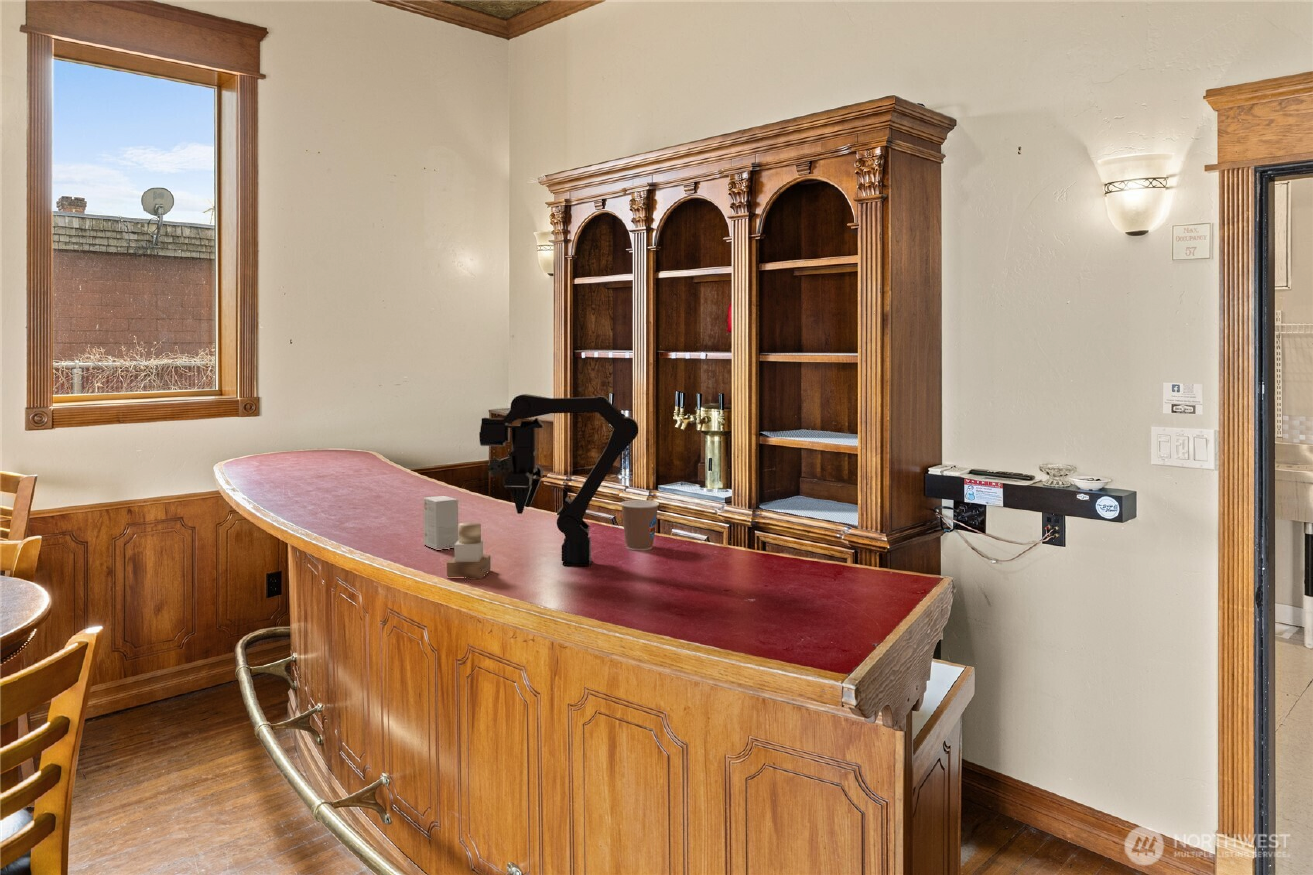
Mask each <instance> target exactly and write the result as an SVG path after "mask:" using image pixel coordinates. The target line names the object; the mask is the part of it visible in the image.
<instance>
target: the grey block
mask: <svg viewBox="0 0 1313 875" xmlns="http://www.w3.org/2000/svg"><path fill="white" fill-rule="evenodd" d="M453 550H454V556H455V562H479V561H480V560H481V559H482V557H483V555H484V539H481V542H479V543H475V544H462V543H459V539H458V541H457V542H456V543H455V545H454V549H453Z"/></svg>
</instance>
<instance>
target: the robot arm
mask: <svg viewBox="0 0 1313 875" xmlns="http://www.w3.org/2000/svg"><path fill="white" fill-rule="evenodd" d="M580 413H581V414H582V413H583V414H585V413H588V414H589V413H591V414H592V413H595V414H596V413H597V414H598V415H600V417H602V418H603V420H605V421H606V422H607V423H608V424H609V425H610V426H611V427H612V428H613V429H612V431H611V435H610V437H609V440H608V442H607V445H606V446H605V448H604V450H603V452H602V454H601V455H600V457H599V458H598V460H597V461H596V463H595V465H594V466H593V468H592V469H591V471H590V473H589V474H588V476H587V478H586V479H585V481H584V483H583V484H582V486H581V487H580V489H579V491H578V492H577V493H576V495H574V496H573V498H572V499H571V498H570V497H569V496H566V498H565V501H564V503H563V505H562V506H561V507H560V508H558V511H557V513H556V515H557V516H558V517H557V519H556V526H557V529H558V530H559V531H560V533H562V534H564V538H563V543H562V544H561V562H562V566H571V567H572V566H574V567H575V566H576V567H577V566H578V567H579V566H580V567H588V566H590V565H591V564H592V561H593V558H592V537H591V536H589V535H590V531H591V526H590V525H589V524H588V523H587V522H586V521H585V520H584V517H585V514H586V513H587V510H588V507H589V504H590V503H591V501H592V499H593V498H594V496H595V495H596V494H597V491H598V490H599V488H600V487H601V485H602V483H603V482H604V480H605V478H606V477H607V475H608V474H609V472H610V470H611V469H612V467H613V466H614V464H615V462H616V460H617V459H618V458H619V456H620V455H621V454H622V453H623V452H624V451H625V450H626V449H627V448H628V446H630V445H631V443H633V441H634V440H635V439H636V438H637V437H638V434H639V425H638V422H637V421H636V419H635V418H634V417H631V416H626V415H625V414H623V413H622V412H621V411H620V410H619V409H618V408H617V407H615V405H614V404H612V403H611V402H610V400H609V399H608V398H607V397H606V396H604V395H603V396H602V395H599V396H592V397H590V396H588V397H586V396H584V397H558V398H557V397H552V398H551V397H545V396H542V395H534V394H528V393H522V394H519V395H517V396H515V397H514V398H513V399H512V400H511V403H510V410H509V411H508V413H507V414H506V415H504V418H492V417H491V418H490V417H482V418H481V424H480V428H479V429H480V430H479V431H478V432H479V434H478V436H479V438H478V439H479V445H480V446H481V447H505V446H506V442H507V443H510V442H511V451H509V452H508V456H507V457H503V458H501V459H500V458H498V457H494V458H492V459H490V460H489V463H488V464H487V471H488V472H489V473H490V476H491V477H492V478H493V477H495V476H496V477H497V475H499V474H503V473H505V472H507V473H506V474H505V475H504V476H503V477H502V486H503V487H504V488H505V489H506V490H508V491H509V492H510V493H511V494H512V498H513V502H514V506H515V510H516V513H517V514H518V515H522V514H523V513H524V510H525V507H526V508H531V507H530V506H531V505H532V502H533V500H534V497H535V495H536V492H537V490H538V488H539V486H540V483H541V481H542V477H543V476H544V468H543V467H542V466H541V465H540V464H537V460H536V458H537V455H538V449H537V444H536V443H537V437H536V436H537V434H536V432H537V431H536V430H537V429H542V428H544V426H545V424H544V423H542V421H540V419H539V418H538V417H540V416H544V415H550V414H580ZM535 417H536V418H535ZM530 418H534V419H533V420H525V419H530ZM519 419H520V420H521V421H520V424H513V423H514V422H516V421H518V420H519ZM510 439H511V441H510Z"/></svg>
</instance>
